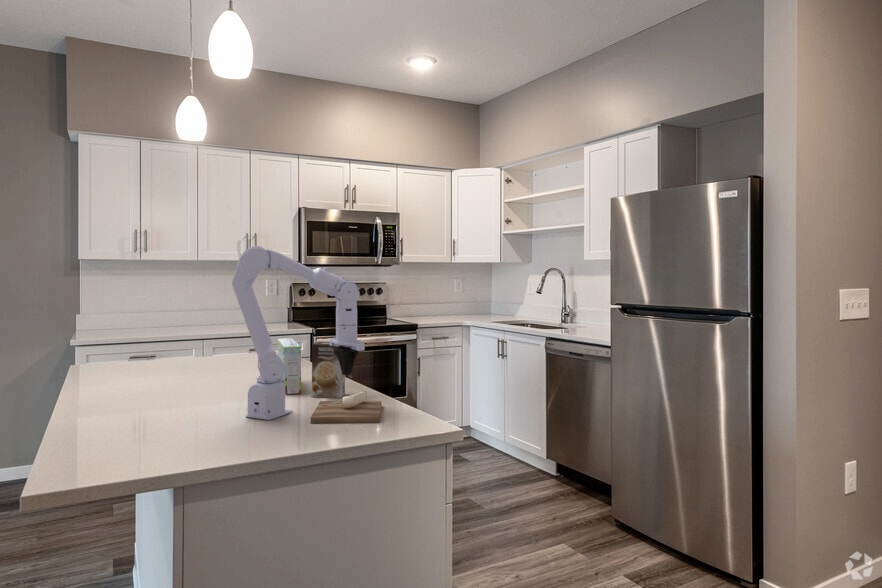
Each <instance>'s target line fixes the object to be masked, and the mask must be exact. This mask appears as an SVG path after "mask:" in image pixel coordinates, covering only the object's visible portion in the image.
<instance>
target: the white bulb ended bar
mask: <svg viewBox="0 0 882 588" xmlns="http://www.w3.org/2000/svg"><path fill="white" fill-rule="evenodd" d="M342 401H343V407H353V406H354V404H357V403H360V402H362V401H367V391H365V390H363V391H360V392H357V393H354V394H351V395H345V396H344V395H343V396H342Z"/></svg>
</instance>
